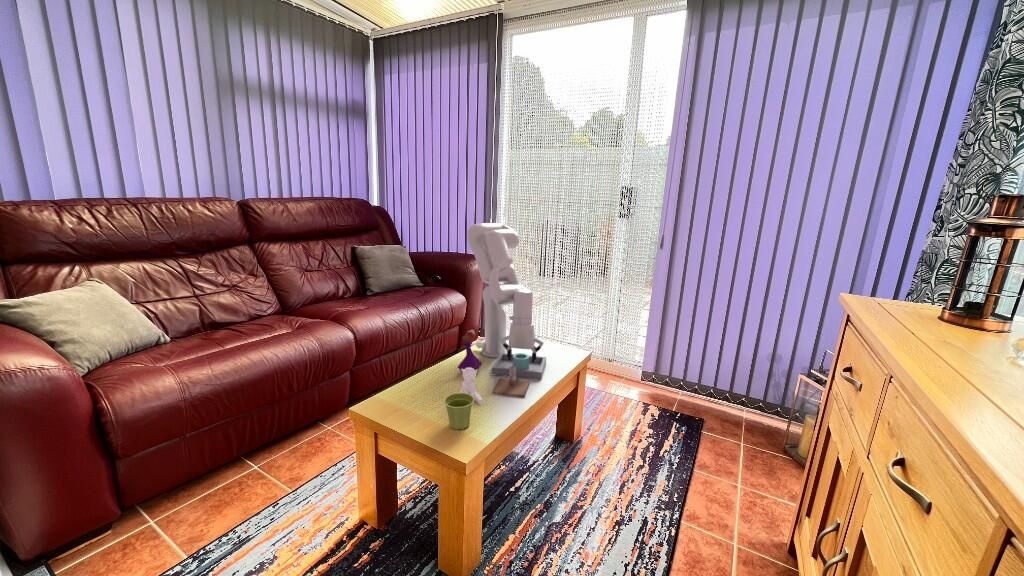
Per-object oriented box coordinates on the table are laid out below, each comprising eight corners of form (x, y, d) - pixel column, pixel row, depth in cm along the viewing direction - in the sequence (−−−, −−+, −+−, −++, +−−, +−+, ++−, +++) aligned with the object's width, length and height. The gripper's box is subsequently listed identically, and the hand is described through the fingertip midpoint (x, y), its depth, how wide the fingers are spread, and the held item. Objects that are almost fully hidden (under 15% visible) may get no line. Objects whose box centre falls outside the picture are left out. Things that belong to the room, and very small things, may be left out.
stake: (491, 394, 150) (491, 374, 149) (499, 379, 162) (499, 361, 160) (524, 397, 148) (524, 378, 146) (529, 383, 160) (530, 364, 158)
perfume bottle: (457, 374, 166) (456, 331, 162) (466, 367, 173) (465, 326, 169) (474, 377, 163) (473, 334, 159) (482, 370, 170) (482, 328, 166)
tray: (491, 374, 166) (491, 367, 166) (500, 359, 182) (500, 352, 181) (541, 379, 163) (541, 372, 162) (546, 363, 178) (546, 357, 177)
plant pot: (442, 433, 125) (442, 407, 124) (445, 417, 135) (445, 392, 133) (473, 433, 126) (473, 407, 124) (474, 416, 135) (474, 392, 133)
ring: (511, 372, 168) (511, 358, 166) (515, 364, 175) (515, 351, 174) (527, 374, 166) (527, 360, 165) (530, 366, 174) (531, 352, 173)
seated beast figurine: (455, 407, 141) (455, 374, 138) (454, 395, 149) (453, 364, 146) (483, 404, 143) (483, 372, 140) (480, 393, 151) (480, 362, 148)
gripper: (499, 321, 163) (498, 361, 167) (542, 324, 160) (541, 365, 164) (503, 315, 170) (502, 354, 174) (545, 318, 167) (543, 358, 171)
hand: (521, 360), depth 169 cm, fingers open, 9 cm apart
